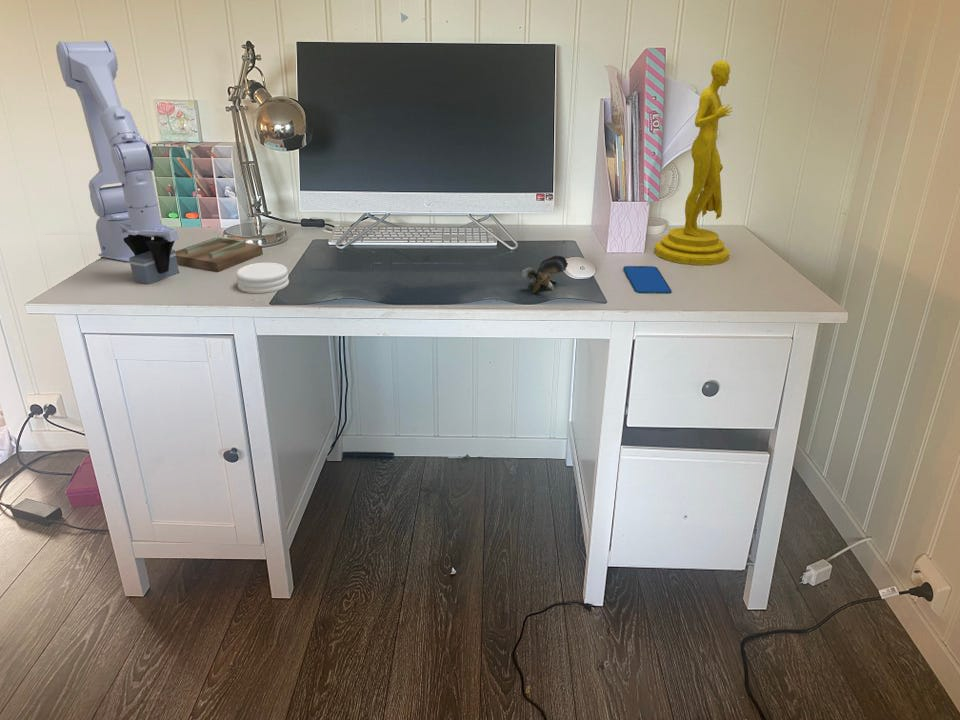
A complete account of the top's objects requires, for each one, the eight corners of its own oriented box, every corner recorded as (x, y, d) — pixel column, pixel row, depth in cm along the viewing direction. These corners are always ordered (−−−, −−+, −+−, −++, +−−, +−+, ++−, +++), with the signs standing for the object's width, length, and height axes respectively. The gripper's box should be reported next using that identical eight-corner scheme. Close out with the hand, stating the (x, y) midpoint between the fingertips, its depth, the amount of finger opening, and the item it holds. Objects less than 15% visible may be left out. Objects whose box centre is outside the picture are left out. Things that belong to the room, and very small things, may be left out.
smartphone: (635, 291, 139) (622, 265, 152) (635, 296, 140) (621, 270, 153) (672, 292, 139) (656, 266, 152) (672, 296, 140) (655, 270, 153)
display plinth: (169, 262, 154) (166, 249, 153) (216, 246, 166) (214, 233, 165) (218, 271, 149) (215, 258, 148) (262, 254, 161) (261, 241, 159)
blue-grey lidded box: (133, 281, 144) (128, 257, 141) (165, 269, 150) (160, 247, 148) (148, 284, 142) (143, 260, 140) (179, 272, 149) (175, 249, 146)
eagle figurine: (561, 293, 136) (576, 271, 142) (541, 263, 134) (557, 242, 140) (530, 306, 141) (546, 285, 147) (511, 277, 139) (528, 257, 145)
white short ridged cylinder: (230, 284, 143) (228, 267, 142) (277, 274, 149) (275, 258, 147) (249, 298, 136) (246, 281, 134) (297, 287, 141) (295, 271, 140)
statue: (719, 270, 153) (753, 63, 135) (644, 257, 160) (666, 60, 142) (736, 250, 166) (768, 60, 148) (665, 239, 173) (688, 57, 155)
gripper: (99, 205, 139) (114, 270, 145) (152, 213, 133) (166, 281, 139) (128, 197, 145) (142, 261, 151) (181, 205, 139) (193, 271, 145)
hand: (155, 270), depth 145 cm, fingers closed on blue-grey lidded box, 4 cm apart
